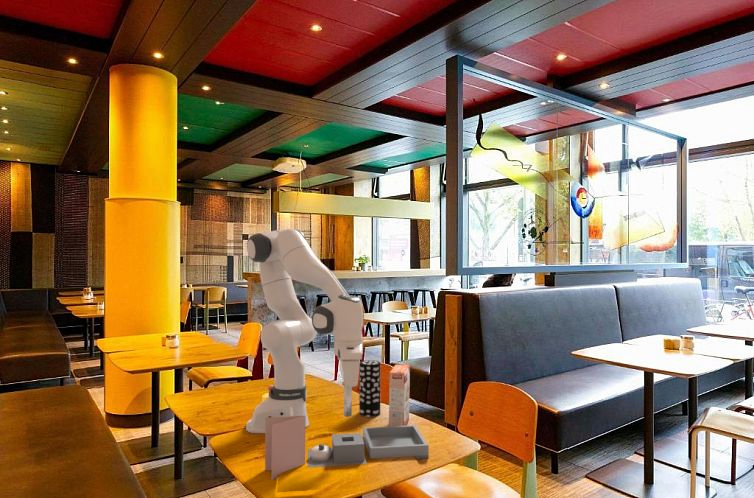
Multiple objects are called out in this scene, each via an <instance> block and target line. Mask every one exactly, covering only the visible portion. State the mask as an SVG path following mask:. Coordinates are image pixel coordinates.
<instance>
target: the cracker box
mask: <svg viewBox="0 0 754 498" xmlns="http://www.w3.org/2000/svg"><path fill="white" fill-rule="evenodd" d="M410 373H411V365H408V364H395V365H394V366H393V368H392V369H391V370H390V371H389V384H388V385H389V388H388V389H389V391H388V394H389V396H388V397H389V399H388V426H408V423H409V420H410V388H411V387H410V380H411V379H410V378H411V377H410V376H411V375H410Z"/></svg>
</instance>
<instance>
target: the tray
mask: <svg viewBox="0 0 754 498" xmlns="http://www.w3.org/2000/svg"><path fill="white" fill-rule="evenodd" d="M362 437H363V440H364V445H365V447H366V450H367V453H368V456H369V459H370V460H372V459H387V458H403V457H414V458H415V460H424V459H429V453H430V452H429V449H430V448H429V446H430V445H429V444H428V442H427V440H426V439H425V438H424V437H423V434H422V433H421V432H420V431H419V429H418V428H417V425H415V424H413V425H412V424H410V425H408V424H407V425H406V426H389V425H388V426H387V425H386V426H370V427H362Z"/></svg>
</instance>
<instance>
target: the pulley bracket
mask: <svg viewBox="0 0 754 498" xmlns="http://www.w3.org/2000/svg"><path fill="white" fill-rule="evenodd" d="M331 441H332V442H331V446H329V445H326V444H323V443H320V444H318V445H315V446H313V447H312V448H311V449H307V468H319V467H320V468H321V467H337V466H339V467H340V466H353V465H354V466H355V465H367V460H366V457H365V441H364V438H363V434H362V433H361V432H355V433H353V432H351V433H336V434H333V433H332V435H331Z"/></svg>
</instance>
